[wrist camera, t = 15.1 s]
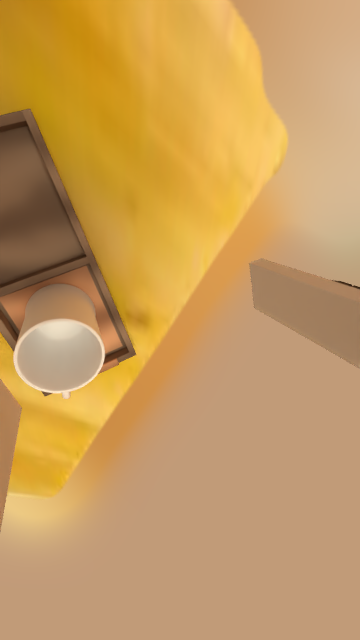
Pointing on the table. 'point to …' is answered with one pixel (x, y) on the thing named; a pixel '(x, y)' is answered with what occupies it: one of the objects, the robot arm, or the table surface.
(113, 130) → the table surface
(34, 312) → the mug
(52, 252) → the rack
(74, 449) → the table surface
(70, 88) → the table surface
